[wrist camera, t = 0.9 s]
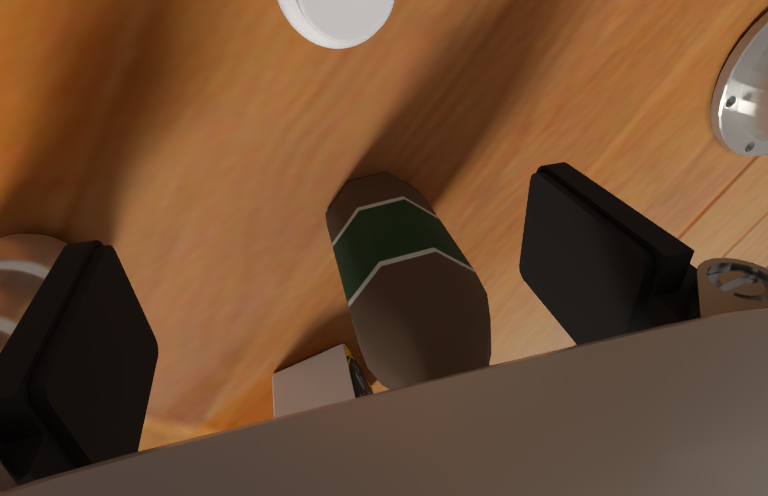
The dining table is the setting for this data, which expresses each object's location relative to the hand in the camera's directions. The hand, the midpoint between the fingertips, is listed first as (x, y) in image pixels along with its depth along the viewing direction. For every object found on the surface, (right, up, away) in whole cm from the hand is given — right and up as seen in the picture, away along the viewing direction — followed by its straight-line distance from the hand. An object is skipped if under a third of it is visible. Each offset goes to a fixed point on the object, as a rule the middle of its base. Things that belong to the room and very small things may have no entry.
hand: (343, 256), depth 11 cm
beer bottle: (0, +3, +25) cm, 25 cm away
